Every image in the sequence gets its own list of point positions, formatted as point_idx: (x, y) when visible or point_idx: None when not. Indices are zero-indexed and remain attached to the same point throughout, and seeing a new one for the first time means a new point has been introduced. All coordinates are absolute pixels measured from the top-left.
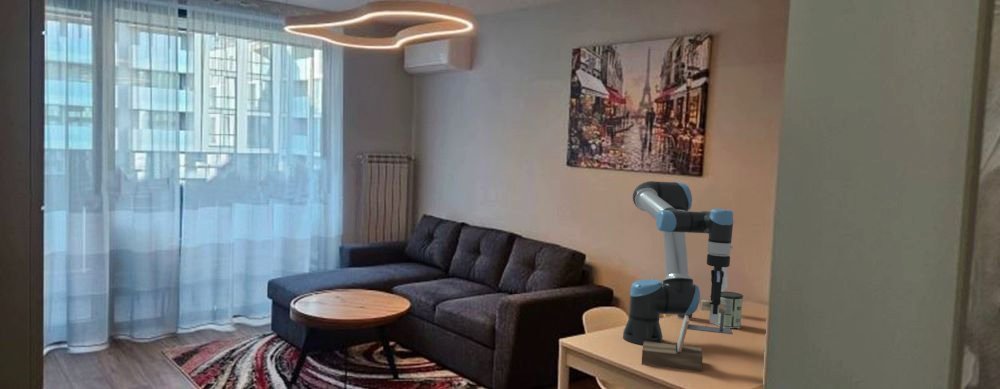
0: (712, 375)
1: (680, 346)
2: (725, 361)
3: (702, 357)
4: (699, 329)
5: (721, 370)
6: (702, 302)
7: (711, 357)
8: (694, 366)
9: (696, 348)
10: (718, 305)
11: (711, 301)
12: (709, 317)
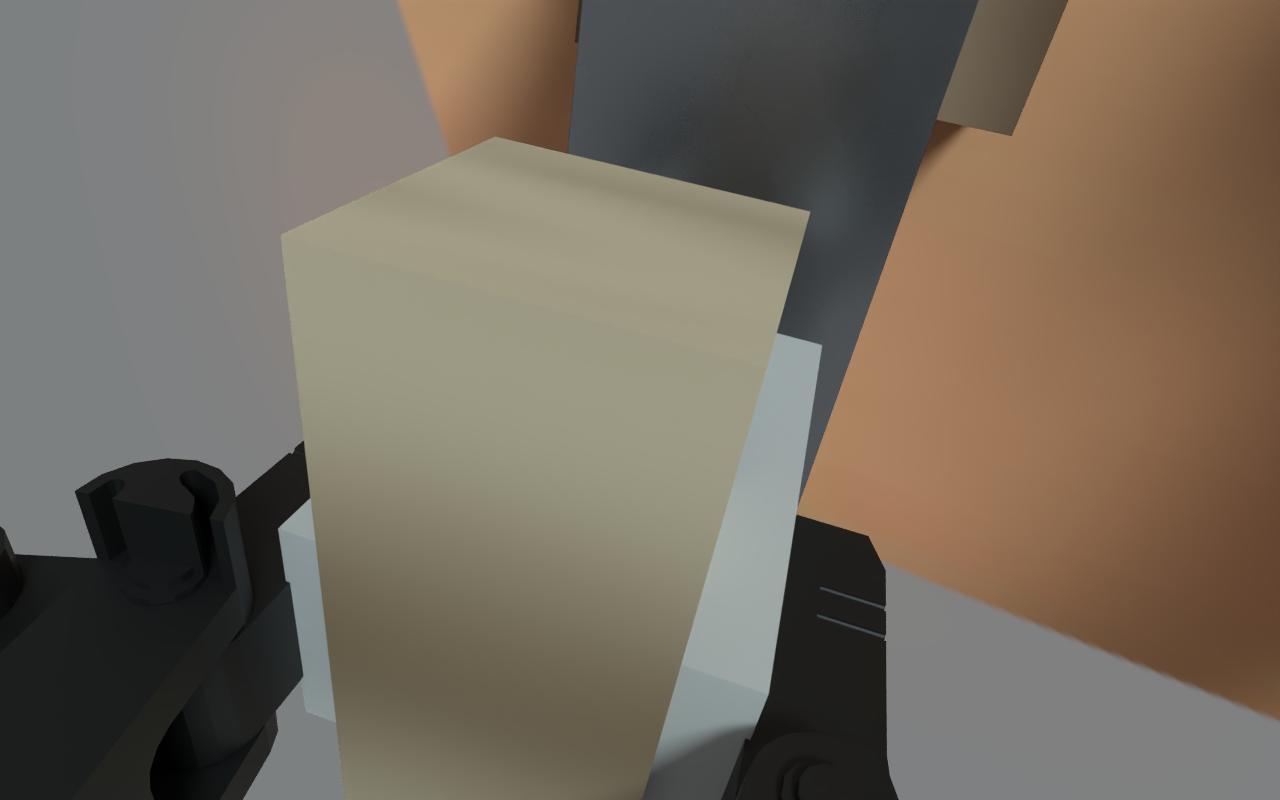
0: (556, 119)
1: None
2: (1001, 378)
3: (577, 40)
4: (588, 30)
5: None
6: (310, 245)
7: (1150, 283)
8: None
9: (969, 53)
10: (316, 674)
11: (494, 660)
12: (784, 363)
